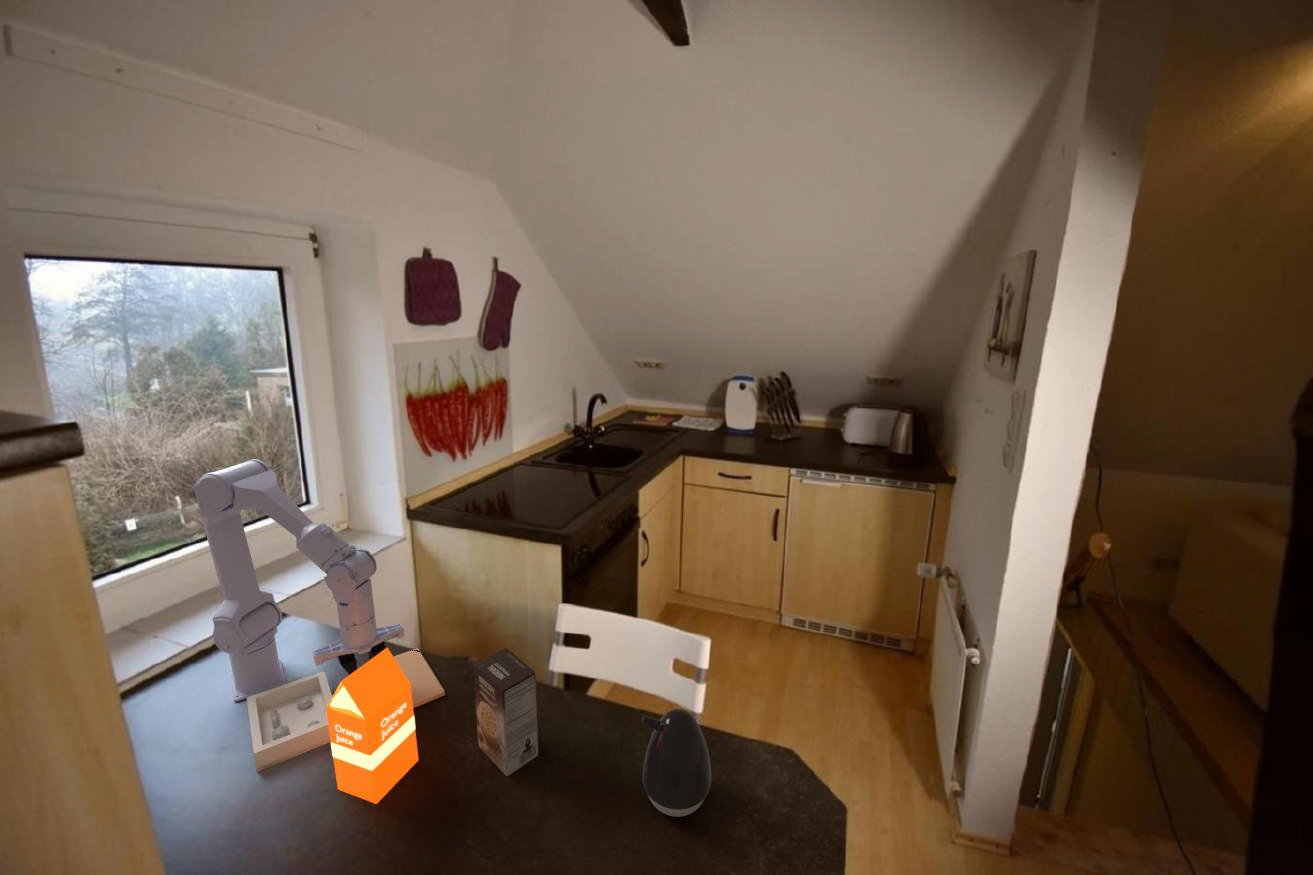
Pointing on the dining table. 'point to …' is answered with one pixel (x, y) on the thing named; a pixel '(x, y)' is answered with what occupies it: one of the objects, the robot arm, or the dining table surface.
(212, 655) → the dining table surface
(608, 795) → the dining table surface
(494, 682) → the coffee box
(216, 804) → the dining table surface
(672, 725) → the pump dispenser
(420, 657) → the lid
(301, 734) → the parts tray
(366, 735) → the orange juice
